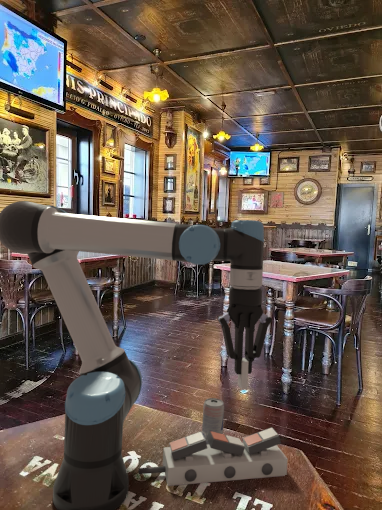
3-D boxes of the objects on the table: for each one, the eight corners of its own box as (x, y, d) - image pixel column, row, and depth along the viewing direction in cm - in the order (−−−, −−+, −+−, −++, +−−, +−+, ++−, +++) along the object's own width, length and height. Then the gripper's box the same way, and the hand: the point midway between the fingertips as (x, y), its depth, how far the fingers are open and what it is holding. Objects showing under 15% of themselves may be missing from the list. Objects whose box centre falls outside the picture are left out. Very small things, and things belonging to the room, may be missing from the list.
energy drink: (221, 442, 99) (224, 398, 99) (221, 454, 94) (224, 407, 93) (201, 440, 100) (204, 396, 99) (200, 452, 94) (203, 405, 94)
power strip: (139, 489, 79) (141, 466, 79) (137, 465, 87) (138, 444, 87) (287, 476, 86) (288, 455, 86) (272, 455, 94) (273, 436, 94)
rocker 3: (249, 455, 86) (247, 446, 86) (243, 445, 90) (242, 437, 90) (280, 443, 88) (279, 435, 88) (273, 434, 92) (271, 426, 92)
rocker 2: (210, 448, 84) (213, 439, 84) (206, 438, 88) (209, 430, 88) (242, 455, 86) (245, 446, 86) (236, 446, 90) (239, 437, 90)
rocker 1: (173, 460, 83) (171, 451, 82) (170, 450, 87) (168, 442, 86) (207, 448, 84) (205, 439, 84) (203, 438, 88) (201, 430, 88)
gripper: (223, 289, 81) (220, 395, 82) (278, 289, 84) (275, 392, 85) (214, 285, 89) (211, 382, 89) (265, 285, 91) (262, 379, 92)
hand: (242, 387), depth 87 cm, fingers closed
